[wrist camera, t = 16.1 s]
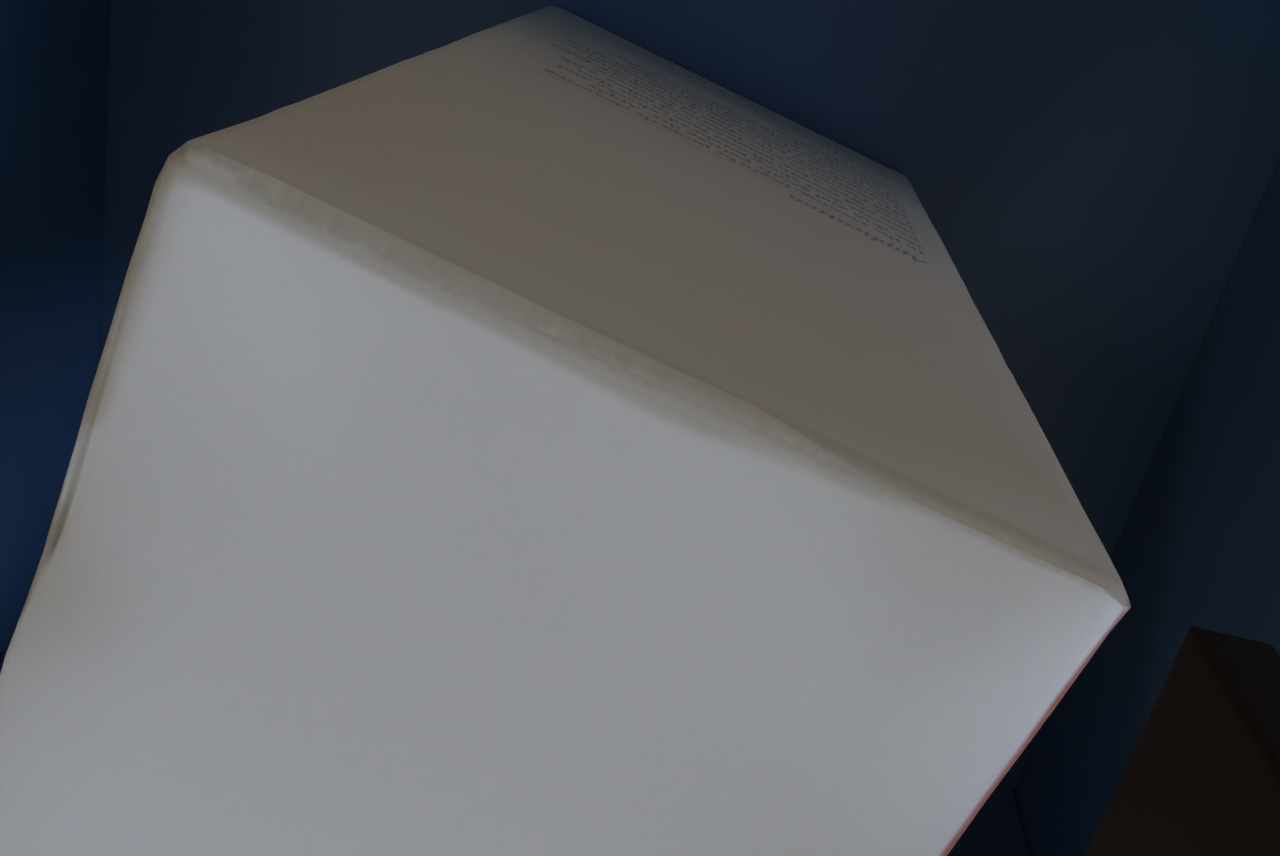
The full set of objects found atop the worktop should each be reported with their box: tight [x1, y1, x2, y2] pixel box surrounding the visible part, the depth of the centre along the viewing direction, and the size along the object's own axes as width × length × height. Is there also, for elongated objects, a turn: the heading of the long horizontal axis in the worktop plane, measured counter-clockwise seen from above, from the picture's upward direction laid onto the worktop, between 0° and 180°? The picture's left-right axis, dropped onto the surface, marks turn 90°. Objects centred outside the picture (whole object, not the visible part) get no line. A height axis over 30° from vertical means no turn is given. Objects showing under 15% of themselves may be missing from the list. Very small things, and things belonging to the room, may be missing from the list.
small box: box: [0, 6, 1131, 856], centre depth 14 cm, size 8×6×13 cm
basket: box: [0, 0, 1280, 856], centre depth 18 cm, size 20×17×7 cm
